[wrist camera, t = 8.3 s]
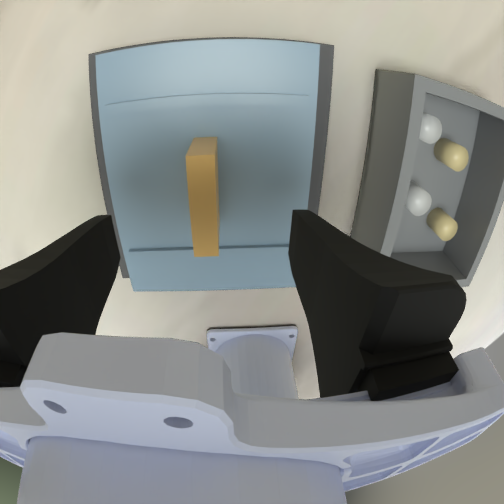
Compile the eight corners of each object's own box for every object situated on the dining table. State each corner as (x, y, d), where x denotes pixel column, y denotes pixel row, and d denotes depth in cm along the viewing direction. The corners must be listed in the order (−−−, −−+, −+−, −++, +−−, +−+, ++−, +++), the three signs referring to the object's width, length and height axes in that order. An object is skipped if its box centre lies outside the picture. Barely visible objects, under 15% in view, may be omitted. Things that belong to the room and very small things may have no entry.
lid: (292, 270, 22) (308, 323, 18) (138, 275, 22) (122, 328, 17) (310, 46, 14) (344, 39, 9) (107, 55, 13) (63, 55, 9)
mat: (306, 269, 23) (308, 273, 23) (124, 273, 22) (122, 278, 22) (331, 46, 14) (334, 45, 14) (91, 54, 13) (88, 54, 13)
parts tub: (442, 254, 24) (468, 286, 20) (345, 257, 23) (366, 297, 19) (482, 102, 16) (523, 117, 12) (375, 69, 15) (415, 74, 11)
